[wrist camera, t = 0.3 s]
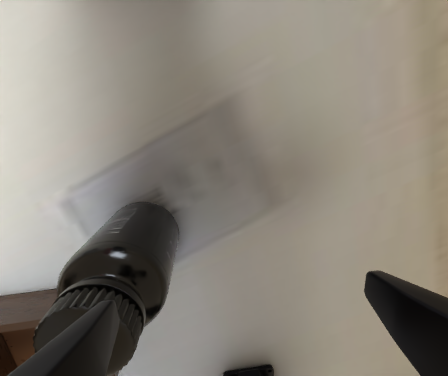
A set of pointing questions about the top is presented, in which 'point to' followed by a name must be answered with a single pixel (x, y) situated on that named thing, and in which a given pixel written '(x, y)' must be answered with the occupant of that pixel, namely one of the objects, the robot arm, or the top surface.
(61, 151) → the top surface
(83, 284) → the supplement bottle
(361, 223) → the top surface
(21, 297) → the holder
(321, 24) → the top surface
